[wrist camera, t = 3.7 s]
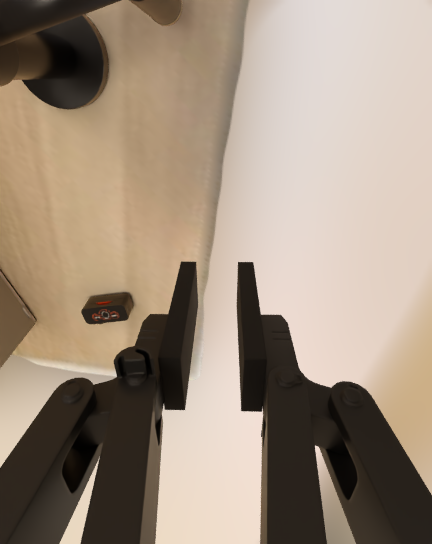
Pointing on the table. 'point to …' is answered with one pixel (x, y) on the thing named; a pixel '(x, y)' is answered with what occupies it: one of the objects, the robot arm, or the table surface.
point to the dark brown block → (107, 308)
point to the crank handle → (59, 21)
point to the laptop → (12, 320)
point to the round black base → (64, 63)
